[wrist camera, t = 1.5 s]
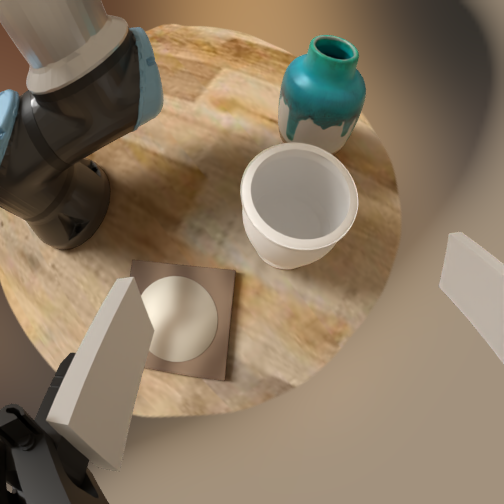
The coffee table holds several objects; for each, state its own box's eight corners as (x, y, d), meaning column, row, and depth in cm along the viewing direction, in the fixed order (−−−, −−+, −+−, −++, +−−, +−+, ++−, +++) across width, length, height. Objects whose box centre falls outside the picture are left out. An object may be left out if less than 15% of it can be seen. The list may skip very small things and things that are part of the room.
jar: (229, 248, 39) (215, 205, 24) (272, 189, 41) (280, 124, 26) (297, 293, 38) (324, 275, 23) (336, 229, 40) (377, 181, 25)
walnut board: (124, 361, 36) (120, 362, 34) (135, 261, 39) (132, 259, 37) (225, 378, 35) (224, 380, 34) (235, 271, 38) (235, 270, 37)
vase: (354, 159, 42) (401, 73, 24) (294, 180, 41) (319, 86, 23) (320, 110, 45) (345, 20, 26) (263, 127, 44) (267, 29, 25)
